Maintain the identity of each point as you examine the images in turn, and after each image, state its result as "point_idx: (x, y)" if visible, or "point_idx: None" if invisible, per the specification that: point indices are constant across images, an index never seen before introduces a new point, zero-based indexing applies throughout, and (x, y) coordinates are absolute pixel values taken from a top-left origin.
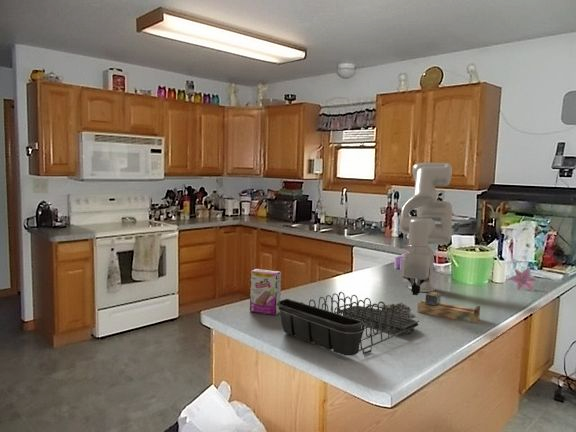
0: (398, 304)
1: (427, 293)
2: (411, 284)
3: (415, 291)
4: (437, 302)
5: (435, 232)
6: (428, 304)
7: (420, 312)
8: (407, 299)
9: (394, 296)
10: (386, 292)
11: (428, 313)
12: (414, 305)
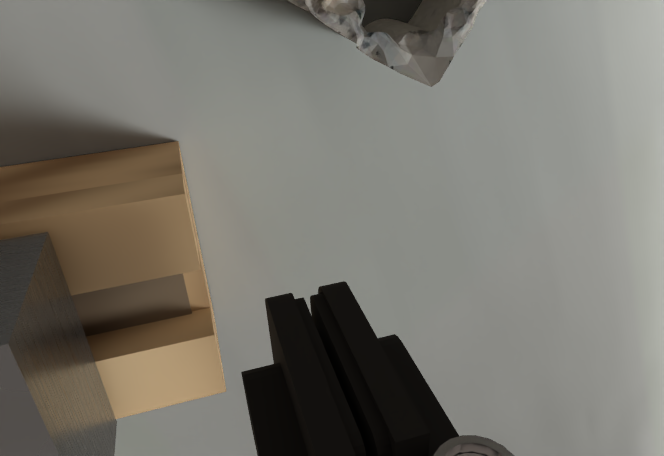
0: (457, 7)
1: (58, 454)
2: (479, 441)
3: (306, 342)
4: None
5: None
6: None
7: (134, 148)
8: None
9: (562, 415)
10: (633, 444)
11: (5, 169)
12: None
